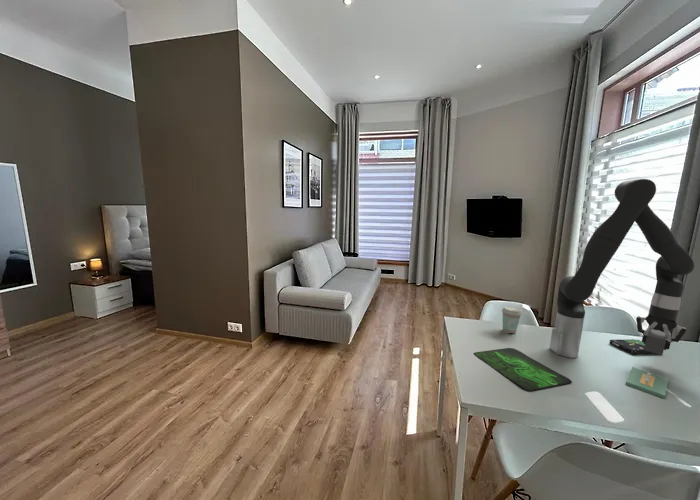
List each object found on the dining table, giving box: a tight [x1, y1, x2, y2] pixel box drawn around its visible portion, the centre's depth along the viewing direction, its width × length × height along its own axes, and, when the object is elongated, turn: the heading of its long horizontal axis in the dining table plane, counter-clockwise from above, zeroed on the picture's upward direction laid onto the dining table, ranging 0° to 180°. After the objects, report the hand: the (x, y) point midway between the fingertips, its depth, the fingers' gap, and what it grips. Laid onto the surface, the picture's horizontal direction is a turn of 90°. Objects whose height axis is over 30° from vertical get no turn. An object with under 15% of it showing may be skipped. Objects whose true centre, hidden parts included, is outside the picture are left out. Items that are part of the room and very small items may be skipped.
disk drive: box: [608, 339, 657, 356], centre depth 132 cm, size 10×3×15 cm
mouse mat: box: [473, 347, 573, 392], centre depth 113 cm, size 27×22×1 cm
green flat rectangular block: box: [625, 366, 669, 399], centre depth 105 cm, size 10×16×2 cm, turn 130°
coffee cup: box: [501, 305, 523, 334], centre depth 145 cm, size 8×9×12 cm
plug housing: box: [644, 330, 667, 356], centre depth 115 cm, size 5×12×6 cm, turn 130°
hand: (654, 346), depth 115 cm, fingers closed on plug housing, 5 cm apart
